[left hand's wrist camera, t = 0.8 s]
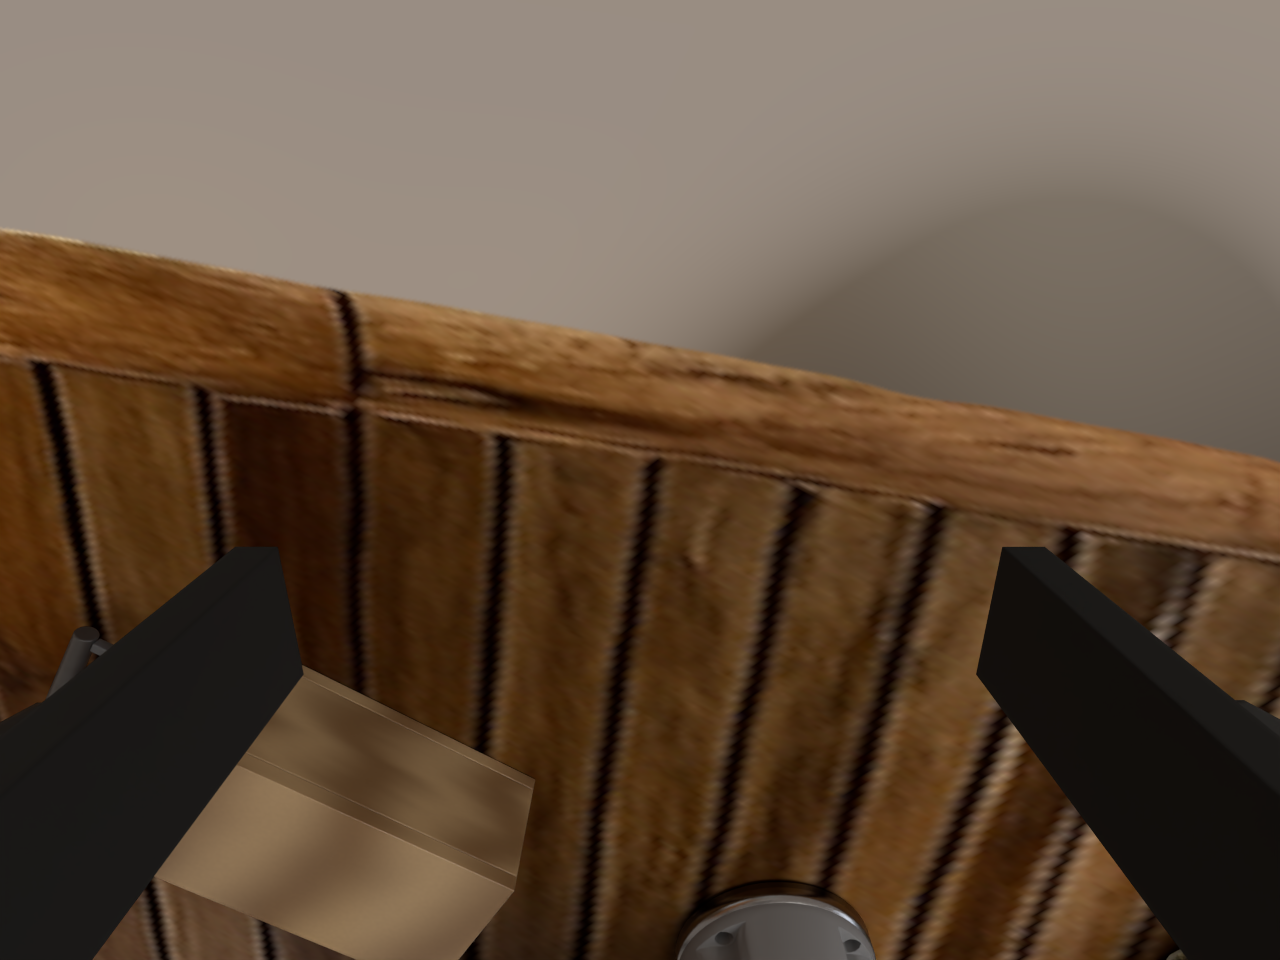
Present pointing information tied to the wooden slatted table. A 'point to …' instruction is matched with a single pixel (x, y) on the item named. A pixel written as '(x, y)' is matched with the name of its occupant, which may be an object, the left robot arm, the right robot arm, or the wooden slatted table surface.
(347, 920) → the cabinet
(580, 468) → the wooden slatted table surface
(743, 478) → the wooden slatted table surface
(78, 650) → the drawer
